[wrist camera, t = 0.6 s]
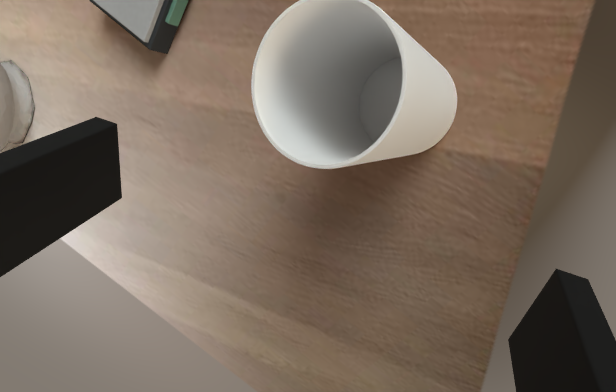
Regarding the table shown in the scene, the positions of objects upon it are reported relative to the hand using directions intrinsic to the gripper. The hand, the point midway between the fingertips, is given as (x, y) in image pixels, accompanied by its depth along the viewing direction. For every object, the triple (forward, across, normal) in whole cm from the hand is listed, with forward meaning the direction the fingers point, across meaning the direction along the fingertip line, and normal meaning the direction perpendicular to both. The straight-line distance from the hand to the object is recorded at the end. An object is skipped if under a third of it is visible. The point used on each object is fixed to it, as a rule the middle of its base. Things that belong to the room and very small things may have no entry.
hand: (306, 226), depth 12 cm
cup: (+24, +1, -2) cm, 24 cm away
